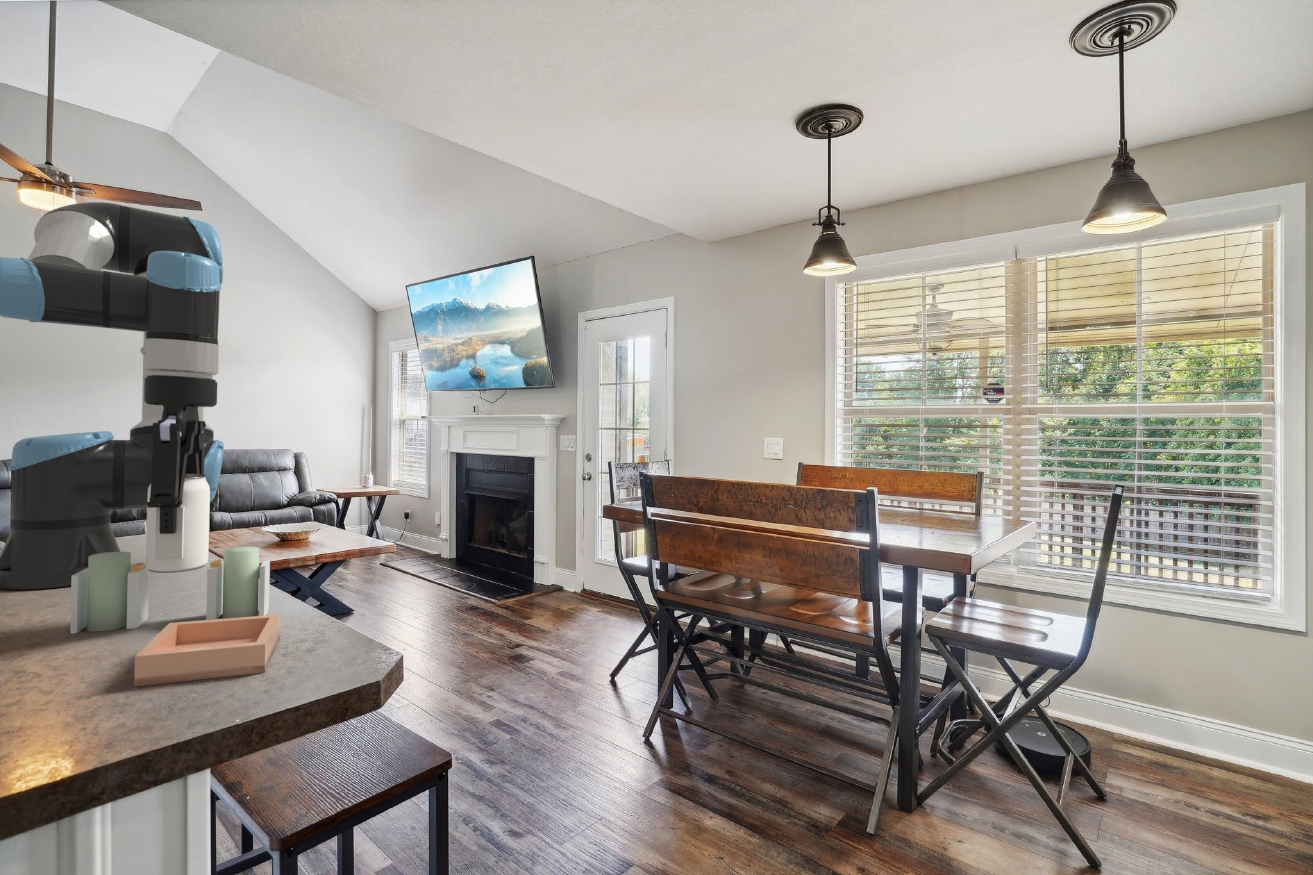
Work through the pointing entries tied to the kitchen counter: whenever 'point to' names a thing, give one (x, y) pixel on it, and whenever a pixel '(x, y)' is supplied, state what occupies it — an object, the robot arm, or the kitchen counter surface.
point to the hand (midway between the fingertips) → (178, 551)
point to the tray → (208, 650)
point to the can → (194, 529)
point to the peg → (107, 590)
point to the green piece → (240, 582)
